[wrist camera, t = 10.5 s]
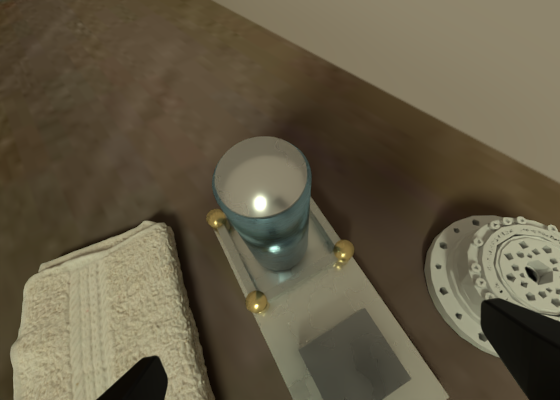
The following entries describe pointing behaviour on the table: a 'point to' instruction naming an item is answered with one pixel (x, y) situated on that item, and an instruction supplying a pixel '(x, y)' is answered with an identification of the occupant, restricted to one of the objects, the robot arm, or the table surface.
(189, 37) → the table surface
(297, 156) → the cylinder
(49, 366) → the washcloth
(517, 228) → the mechanical component
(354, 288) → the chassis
